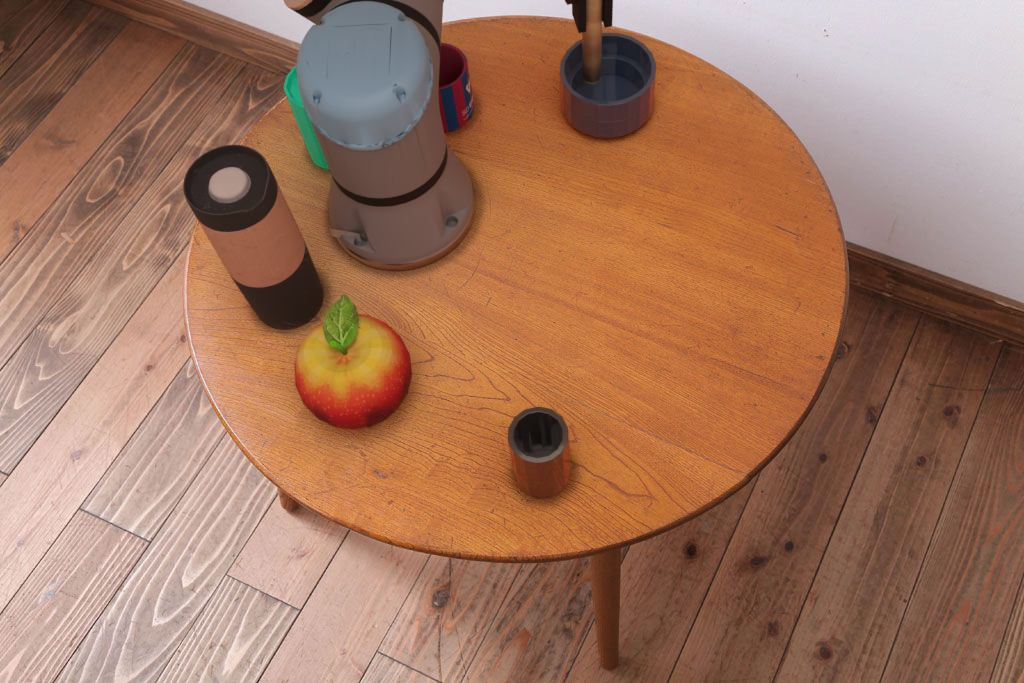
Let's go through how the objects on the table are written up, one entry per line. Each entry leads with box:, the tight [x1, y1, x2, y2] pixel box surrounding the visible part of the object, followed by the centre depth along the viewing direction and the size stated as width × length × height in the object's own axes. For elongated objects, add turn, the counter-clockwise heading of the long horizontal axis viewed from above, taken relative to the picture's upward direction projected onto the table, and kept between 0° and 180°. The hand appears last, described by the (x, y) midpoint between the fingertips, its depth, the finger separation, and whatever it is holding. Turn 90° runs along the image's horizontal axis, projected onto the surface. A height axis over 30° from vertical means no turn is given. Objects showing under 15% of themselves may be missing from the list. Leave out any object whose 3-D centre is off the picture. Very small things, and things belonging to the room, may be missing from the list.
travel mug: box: [182, 144, 324, 331], centre depth 95 cm, size 8×8×20 cm
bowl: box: [559, 32, 657, 139], centre depth 109 cm, size 10×10×6 cm
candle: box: [283, 64, 330, 171], centre depth 107 cm, size 6×6×12 cm
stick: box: [581, 0, 603, 85], centre depth 101 cm, size 2×2×19 cm
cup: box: [438, 42, 475, 133], centre depth 111 cm, size 7×10×7 cm
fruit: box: [293, 292, 413, 430], centre depth 93 cm, size 11×11×10 cm
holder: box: [507, 406, 572, 500], centre depth 89 cm, size 5×5×9 cm
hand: (592, 19), depth 102 cm, fingers closed on stick, 2 cm apart
